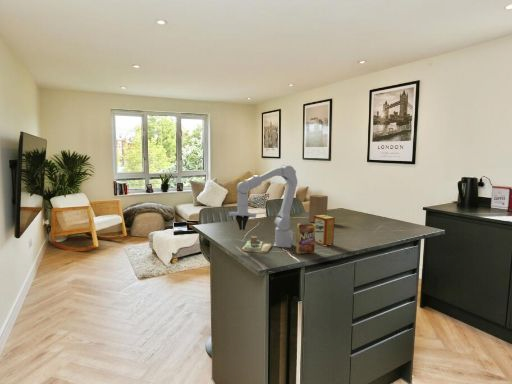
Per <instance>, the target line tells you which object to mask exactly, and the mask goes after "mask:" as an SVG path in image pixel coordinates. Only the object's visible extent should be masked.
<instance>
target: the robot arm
mask: <svg viewBox="0 0 512 384" xmlns="http://www.w3.org/2000/svg"><path fill="white" fill-rule="evenodd" d="M296 172H297V171H296V169H295V168H294V167H293V166H292V165H286V164H281V165H280V166H276V167H275V168H272V169H271V170H268V171H267V172H265V173H263V174H261V175H252V176H251V177H249V178H248V179H244V180H243V181H240V182H238V183H237V184H236V185H237V186H236V187H235V188H236V190H237V198H236V201H237V202H236V203H237V205H236V206H237V208H236V210H237V211H228V216H229V217H231V216H232V217H235V220H236V223H237V225H238V228H239V231H245V230H246V225H247V223H248V220H249V219H250V218H254V219H256V218H257V213H254V212H249V192H250V191H251V190H253V189H255V188H257V187H259V186H260V187H261V185H262V184H263V182H265V181H266V180H267V181H268V180H270V179H272V178H274V177H276V176H277V177H281V178H283V179H284V180H285V183H286V187H285V190H284V191H285V192H284V195H283V199H282V203H281V207H280V210H279V212H278V213H277V216H276V217H275V218H274V225H275V233H274V235H275V236H274V244H272V247H276V248H278V247H280V248H292V246H293V230H291V229H289V228H290V227H291V216H290V213H291V209H292V205H293V202H294V198H295V194H296V191H297V187H298V186H297V185H298V178H297V173H296Z"/></svg>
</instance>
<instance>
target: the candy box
mask: <svg viewBox="0 0 512 384" xmlns="http://www.w3.org/2000/svg"><path fill="white" fill-rule="evenodd" d="M296 226H297V227H296V245H295V252H296V254H297V255H298V254H301V253H314V254H315V244H316V243H315V230H316V225H315V224H314V223H311V222H308V223H307V222H303V223H302V222H297V225H296Z"/></svg>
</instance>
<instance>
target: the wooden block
mask: <svg viewBox="0 0 512 384" xmlns="http://www.w3.org/2000/svg"><path fill="white" fill-rule="evenodd" d="M328 200H329V197H328V195H324V194H323V195H322V194H312V195H309V202H308V203H309V204H308V205H309V206H308V223H311V222H314V216H317V215H327V216H328V203H329V201H328Z"/></svg>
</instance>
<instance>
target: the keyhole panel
mask: <svg viewBox="0 0 512 384" xmlns="http://www.w3.org/2000/svg"><path fill="white" fill-rule="evenodd" d="M257 240H258V236H257V235H251V237H250V240H247V241H246V243H245V245H244V246H245V247H244V246H243V247H244V249H249V250H261V247H262V244H264V242H263V240H262V241H261V240H260V243H259V244H257ZM253 243H255V244H256V247H253V246H252V244H253ZM258 247H259V248H258Z"/></svg>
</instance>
